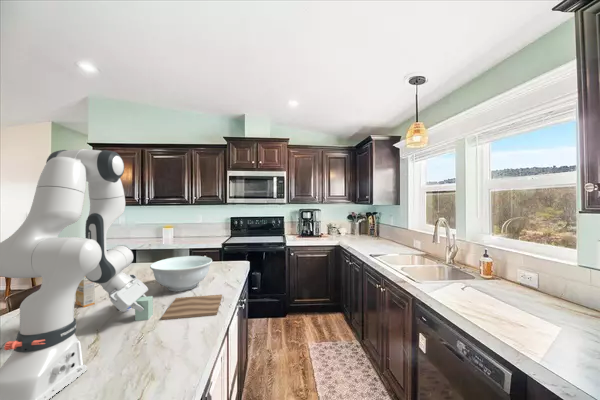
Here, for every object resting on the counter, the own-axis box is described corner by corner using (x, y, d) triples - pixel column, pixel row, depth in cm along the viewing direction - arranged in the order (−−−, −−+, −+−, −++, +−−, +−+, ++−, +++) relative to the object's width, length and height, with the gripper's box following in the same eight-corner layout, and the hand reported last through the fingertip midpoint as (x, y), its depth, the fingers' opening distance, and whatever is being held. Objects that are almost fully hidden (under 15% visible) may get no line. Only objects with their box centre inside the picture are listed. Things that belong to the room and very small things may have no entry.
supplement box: (74, 304, 125) (74, 277, 125) (86, 301, 129) (86, 274, 129) (83, 307, 121) (83, 279, 121) (95, 304, 125) (95, 276, 126)
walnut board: (216, 315, 112) (216, 312, 112) (161, 320, 108) (161, 317, 108) (222, 296, 134) (222, 294, 134) (176, 300, 129) (176, 297, 129)
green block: (148, 319, 108) (148, 300, 108) (135, 320, 107) (135, 301, 107) (152, 314, 113) (152, 296, 113) (140, 315, 112) (140, 297, 112)
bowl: (184, 300, 129) (184, 271, 129) (135, 293, 140) (135, 266, 140) (223, 281, 160) (223, 257, 160) (181, 276, 170) (181, 254, 170)
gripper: (113, 288, 99) (141, 311, 101) (136, 273, 119) (159, 293, 121) (99, 300, 98) (128, 324, 100) (125, 283, 118) (149, 303, 120)
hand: (145, 307), depth 110 cm, fingers closed on green block, 5 cm apart
